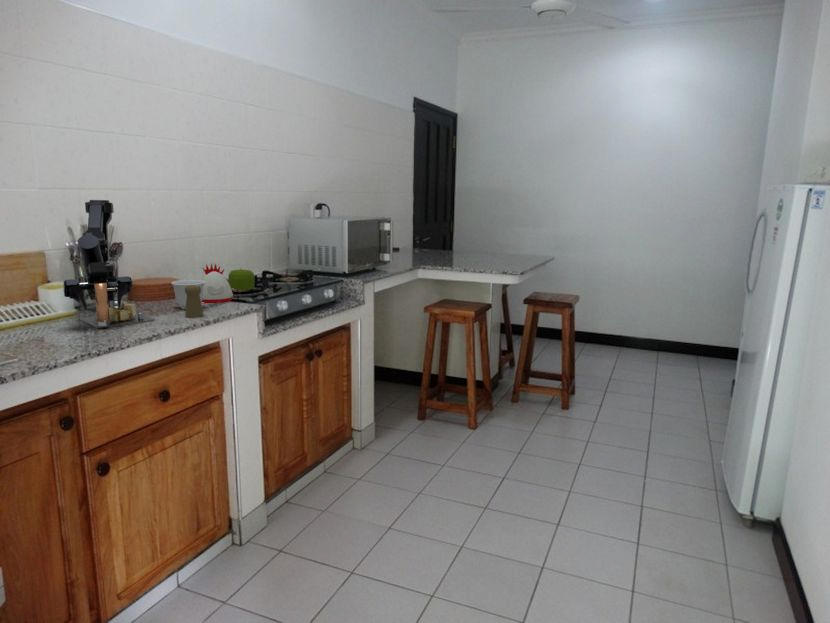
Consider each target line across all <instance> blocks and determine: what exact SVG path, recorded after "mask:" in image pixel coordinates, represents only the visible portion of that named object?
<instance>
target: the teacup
mask: <svg viewBox="0 0 830 623" xmlns="http://www.w3.org/2000/svg"><path fill="white" fill-rule="evenodd" d="M205 283H206V282H205V281H204V280H202V279H179V280H174V281H171V283H170V284H171V285H172V287H173V291H174V296H175V301H176V302H177V303H178V305H180V306H181V309H182V310H184V309H186V300H187V294H186V293H185V288H186V286H188V285H198V286H200V288H201V293H200V294H199V295H200V300H201V302H202V299H203V288H204V284H205Z"/></svg>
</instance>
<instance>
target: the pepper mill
mask: <svg viewBox="0 0 830 623" xmlns="http://www.w3.org/2000/svg"><path fill="white" fill-rule="evenodd" d="M185 293H186V294H187V300H186V310H185V311H184V312H185V314H184V317H185V318H187V317H188V318H187V319H197V318H196V317H199V318H202V316H203V317H204V312H203V306H202V303H201V300H200V295H199V294H200V293H201V288H200V286H198V285H188V286H186V288H185Z"/></svg>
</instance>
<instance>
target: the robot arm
mask: <svg viewBox="0 0 830 623" xmlns="http://www.w3.org/2000/svg"><path fill="white" fill-rule="evenodd" d="M84 206H85V207H84V208H85V213H87V214H88V221H87V229H86V231H85V232H83V233H82V236H80V237H79V238H78V239H77V241H76V242H77V247H78V250H79V254H80V256H81V259H82V262H83V263H82V264H83V268H84V274H85V278H86V282H80V281H79V279H78V278H74V279H64V281H63V295H64V297H65V298H69V299H71V300H72V299H73V300H75V302H77V304H79V305H80V306H81V307H82V309H84V311H87V308H88V307H87V302H86V300H85V296H84V294H83V291H85V290H86V291H88V290H89V291H91V294H95V287H94V283H100V282H105V283H107V293H108V305H109V306H110V301H111V300H117V303H118V307H120V305H121V300H122V299H123V298H124V296H126V295H128V294H129V293H131V292H132V285H133V280H132V277H131V276H129V275H128V276H117V275H116V271H115V265H114V262H113V260H110V250H109V248H110V243H109V229H108V228H109V227H108V225H109V224H110V222H111V221H112V219H113V214H114V203H113V202H110V200H109V199H90V200H89V201H87V202H86V201H85V202H84ZM115 294H116V296H115ZM94 309H95V310H96V306H94Z"/></svg>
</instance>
